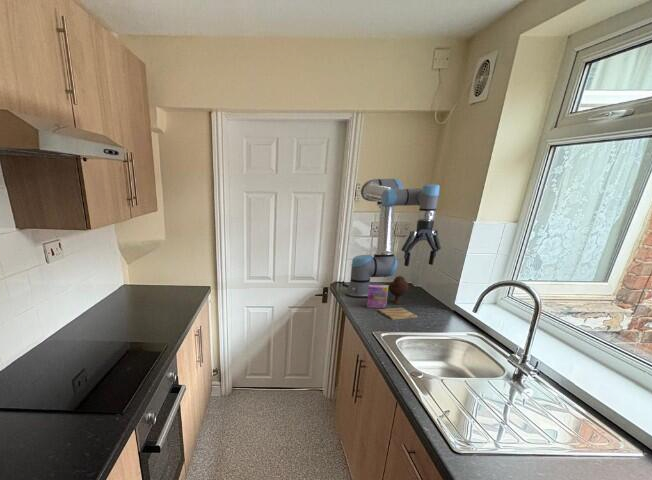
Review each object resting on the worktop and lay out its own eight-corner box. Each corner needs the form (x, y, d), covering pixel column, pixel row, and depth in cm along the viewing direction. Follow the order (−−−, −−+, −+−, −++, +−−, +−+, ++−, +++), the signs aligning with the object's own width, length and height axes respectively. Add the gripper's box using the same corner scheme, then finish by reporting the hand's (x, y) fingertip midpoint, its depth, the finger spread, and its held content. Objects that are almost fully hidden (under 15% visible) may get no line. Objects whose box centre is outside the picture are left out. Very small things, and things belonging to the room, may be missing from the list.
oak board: (377, 311, 224) (378, 309, 224) (401, 309, 227) (401, 307, 226) (392, 319, 210) (392, 317, 210) (417, 317, 213) (417, 316, 212)
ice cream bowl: (382, 301, 241) (385, 275, 234) (397, 299, 245) (401, 274, 239) (395, 306, 232) (399, 279, 226) (410, 303, 237) (414, 277, 230)
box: (366, 307, 231) (368, 286, 226) (367, 304, 236) (369, 284, 230) (385, 308, 228) (388, 287, 223) (385, 306, 233) (388, 285, 228)
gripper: (406, 221, 193) (399, 267, 203) (453, 219, 198) (445, 265, 208) (398, 220, 200) (392, 264, 210) (444, 218, 205) (436, 262, 214)
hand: (418, 265), depth 209 cm, fingers open, 13 cm apart
